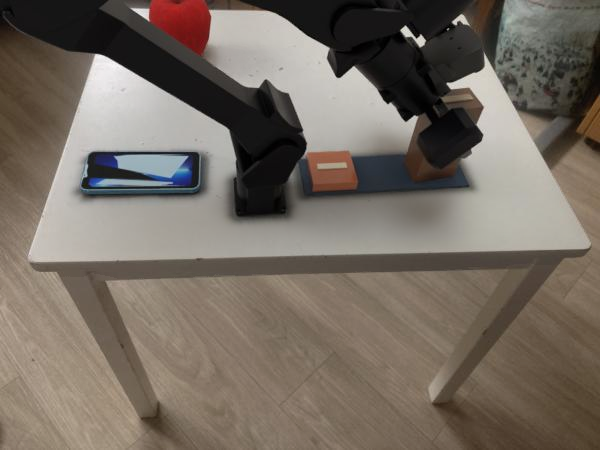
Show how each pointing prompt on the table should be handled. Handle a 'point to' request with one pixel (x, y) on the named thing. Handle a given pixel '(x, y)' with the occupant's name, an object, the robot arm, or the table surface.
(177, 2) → the apple
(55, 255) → the table surface
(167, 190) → the smartphone
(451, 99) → the brown tall rectangular block
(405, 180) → the word mat
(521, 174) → the table surface
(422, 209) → the table surface
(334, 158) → the letter tile
